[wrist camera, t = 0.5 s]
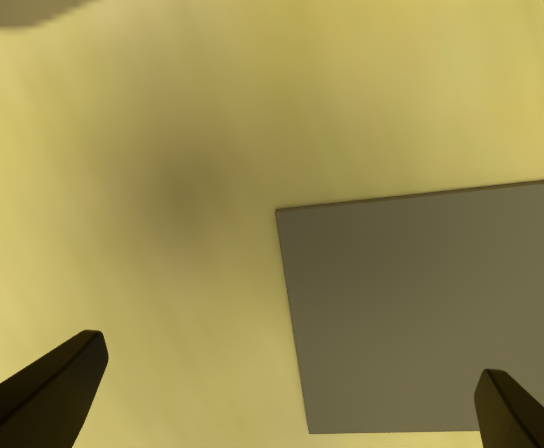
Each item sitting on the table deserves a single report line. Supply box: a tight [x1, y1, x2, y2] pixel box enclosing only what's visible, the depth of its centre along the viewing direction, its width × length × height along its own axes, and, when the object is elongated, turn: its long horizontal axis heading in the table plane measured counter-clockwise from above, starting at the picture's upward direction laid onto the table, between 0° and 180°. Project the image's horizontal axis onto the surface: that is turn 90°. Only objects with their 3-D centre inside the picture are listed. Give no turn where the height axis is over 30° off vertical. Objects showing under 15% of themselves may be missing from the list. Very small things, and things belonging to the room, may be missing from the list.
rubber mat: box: [276, 180, 544, 434], centre depth 24 cm, size 16×15×1 cm
